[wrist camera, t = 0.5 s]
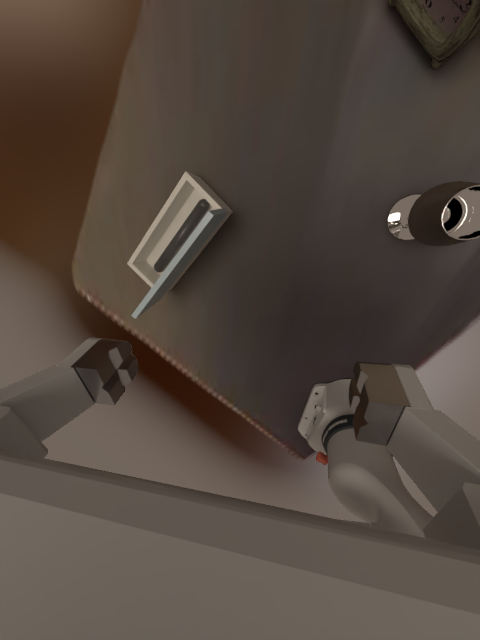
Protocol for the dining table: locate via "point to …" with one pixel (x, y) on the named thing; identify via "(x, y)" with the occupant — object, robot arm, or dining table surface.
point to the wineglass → (438, 215)
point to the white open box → (175, 228)
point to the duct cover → (182, 259)
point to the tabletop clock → (440, 24)
